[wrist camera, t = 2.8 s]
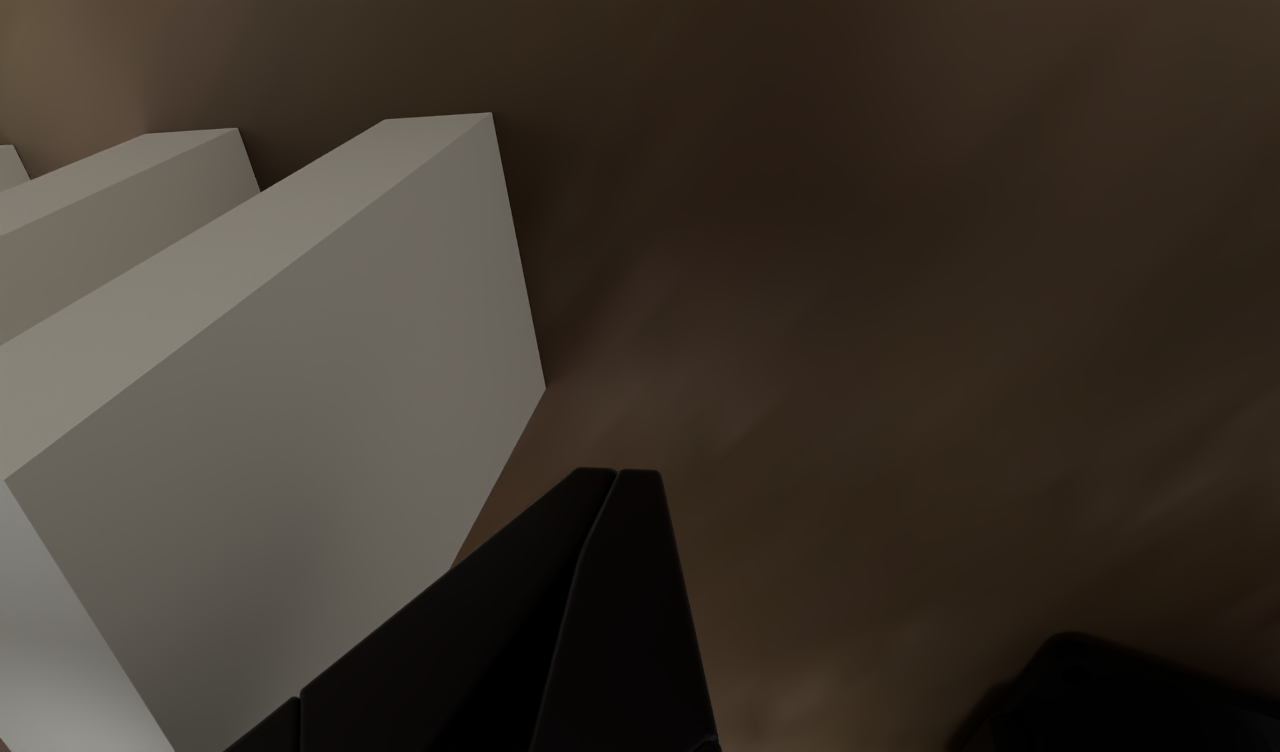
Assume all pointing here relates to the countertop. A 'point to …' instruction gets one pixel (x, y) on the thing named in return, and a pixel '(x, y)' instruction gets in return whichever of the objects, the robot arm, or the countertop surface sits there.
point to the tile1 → (258, 444)
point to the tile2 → (111, 216)
